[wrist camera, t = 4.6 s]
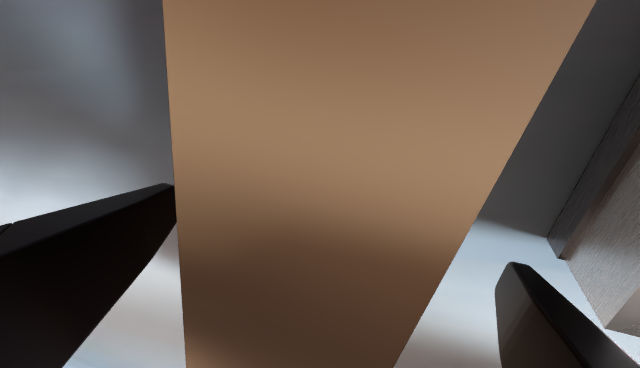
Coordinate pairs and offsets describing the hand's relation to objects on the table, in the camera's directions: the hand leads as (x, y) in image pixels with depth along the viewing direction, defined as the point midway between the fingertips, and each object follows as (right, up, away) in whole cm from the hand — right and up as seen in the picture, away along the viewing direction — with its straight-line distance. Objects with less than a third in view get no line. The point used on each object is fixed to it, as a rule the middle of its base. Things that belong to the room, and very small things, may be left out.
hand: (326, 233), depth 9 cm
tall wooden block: (+1, +2, +3) cm, 4 cm away
